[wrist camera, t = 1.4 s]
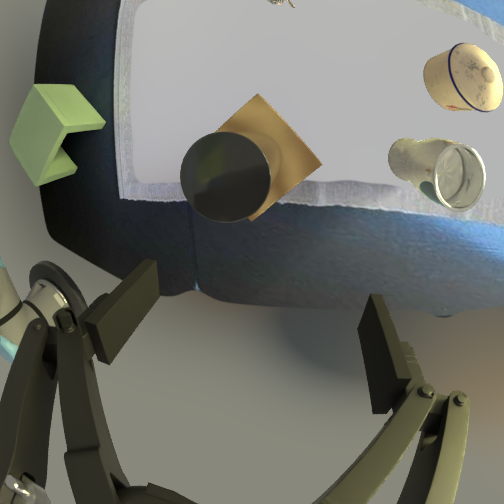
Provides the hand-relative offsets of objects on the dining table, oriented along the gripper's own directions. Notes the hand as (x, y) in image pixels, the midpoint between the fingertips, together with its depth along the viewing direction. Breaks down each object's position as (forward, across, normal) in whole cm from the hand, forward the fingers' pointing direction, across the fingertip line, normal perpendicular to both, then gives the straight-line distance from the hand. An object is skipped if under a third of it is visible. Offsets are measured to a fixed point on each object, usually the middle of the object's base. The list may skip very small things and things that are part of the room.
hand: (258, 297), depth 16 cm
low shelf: (+24, +4, -6) cm, 25 cm away
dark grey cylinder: (+18, +4, -6) cm, 20 cm away
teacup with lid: (+25, -23, -23) cm, 41 cm away
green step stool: (+25, +38, -10) cm, 46 cm away
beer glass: (+25, -17, -9) cm, 31 cm away
